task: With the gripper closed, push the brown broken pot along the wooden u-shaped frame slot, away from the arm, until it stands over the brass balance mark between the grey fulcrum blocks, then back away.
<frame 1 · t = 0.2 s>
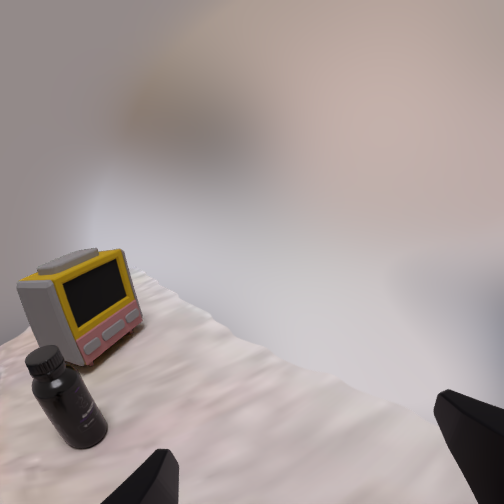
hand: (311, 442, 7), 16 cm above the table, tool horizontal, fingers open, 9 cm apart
supplement bottle: (87, 432, 25), on the table
alarm clock: (96, 345, 49), on the table
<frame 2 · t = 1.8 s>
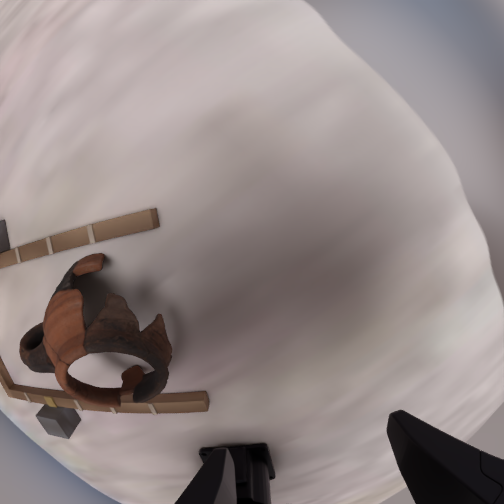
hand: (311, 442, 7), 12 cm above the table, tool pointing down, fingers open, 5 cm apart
wooden u-shaped frame: (26, 333, 19), on the table
brown broken pot: (106, 318, 19), on the table
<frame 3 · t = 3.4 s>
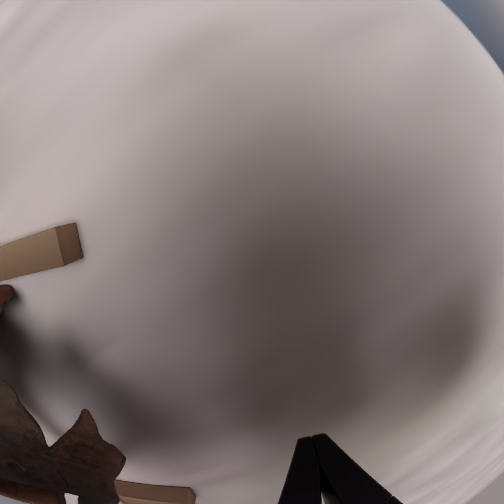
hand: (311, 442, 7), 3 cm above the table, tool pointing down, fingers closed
brown broken pot: (35, 379, 10), on the table
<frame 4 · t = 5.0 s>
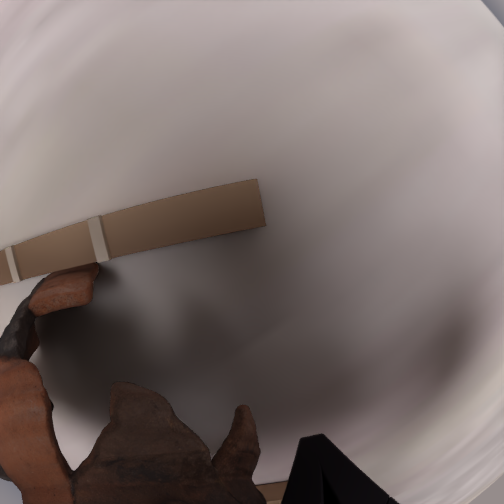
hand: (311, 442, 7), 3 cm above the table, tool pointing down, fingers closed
wooden u-shaped frame: (3, 396, 10), on the table
brown broken pot: (108, 382, 10), on the table, touching gripper
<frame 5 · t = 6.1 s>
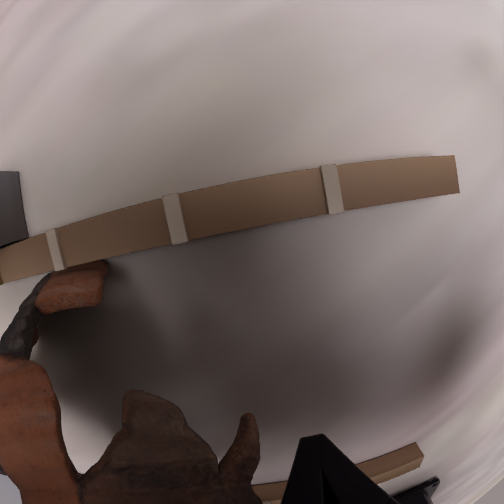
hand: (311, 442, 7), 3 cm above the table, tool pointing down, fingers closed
wooden u-shaped frame: (71, 407, 10), on the table
brown broken pot: (107, 380, 10), on the table, touching gripper
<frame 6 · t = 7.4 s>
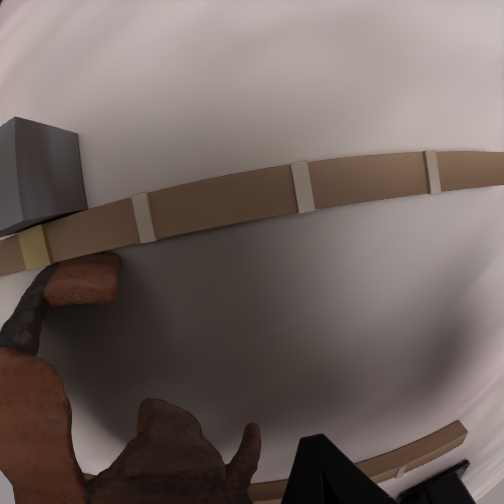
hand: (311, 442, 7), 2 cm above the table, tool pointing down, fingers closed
wooden u-shaped frame: (120, 407, 10), on the table
brown broken pot: (104, 373, 9), on the table, touching wooden u-shaped frame, gripper
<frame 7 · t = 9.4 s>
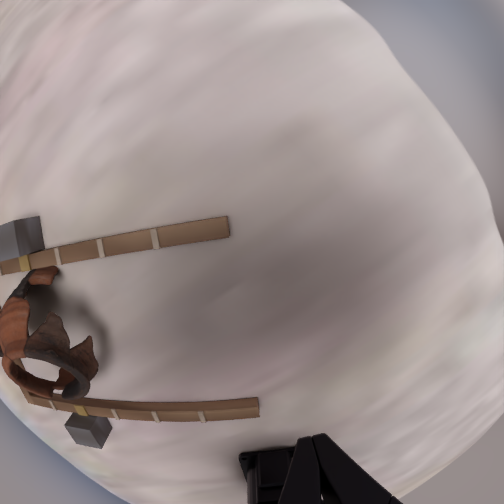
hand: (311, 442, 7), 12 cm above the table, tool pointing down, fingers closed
wooden u-shaped frame: (57, 338, 20), on the table
brown broken pot: (53, 320, 20), on the table
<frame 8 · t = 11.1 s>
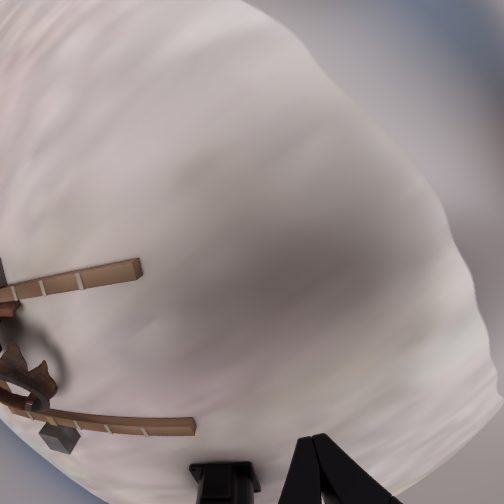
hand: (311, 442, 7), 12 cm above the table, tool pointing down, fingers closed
wooden u-shaped frame: (26, 359, 20), on the table
brown broken pot: (23, 343, 20), on the table
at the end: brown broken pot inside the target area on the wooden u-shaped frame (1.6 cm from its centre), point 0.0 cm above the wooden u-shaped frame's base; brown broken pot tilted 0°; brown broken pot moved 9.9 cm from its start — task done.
